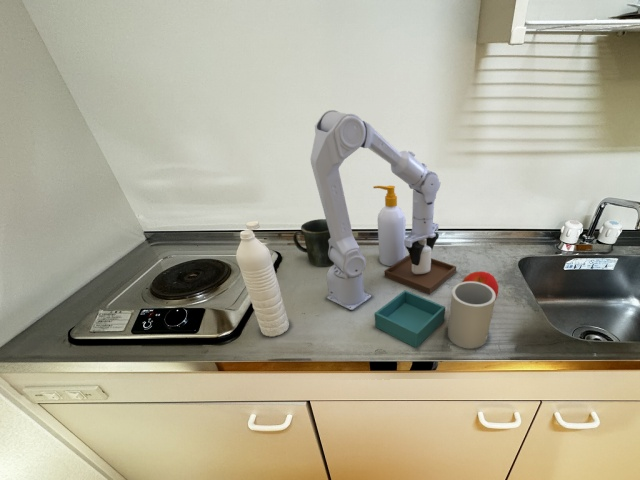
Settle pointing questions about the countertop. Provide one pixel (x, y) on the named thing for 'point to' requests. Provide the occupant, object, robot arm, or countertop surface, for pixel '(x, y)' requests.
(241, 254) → the water bottle
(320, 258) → the mug
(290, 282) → the countertop surface
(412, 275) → the tray
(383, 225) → the soap bottle
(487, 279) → the apple
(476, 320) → the cup
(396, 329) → the bin
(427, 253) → the eye dropper bottle
